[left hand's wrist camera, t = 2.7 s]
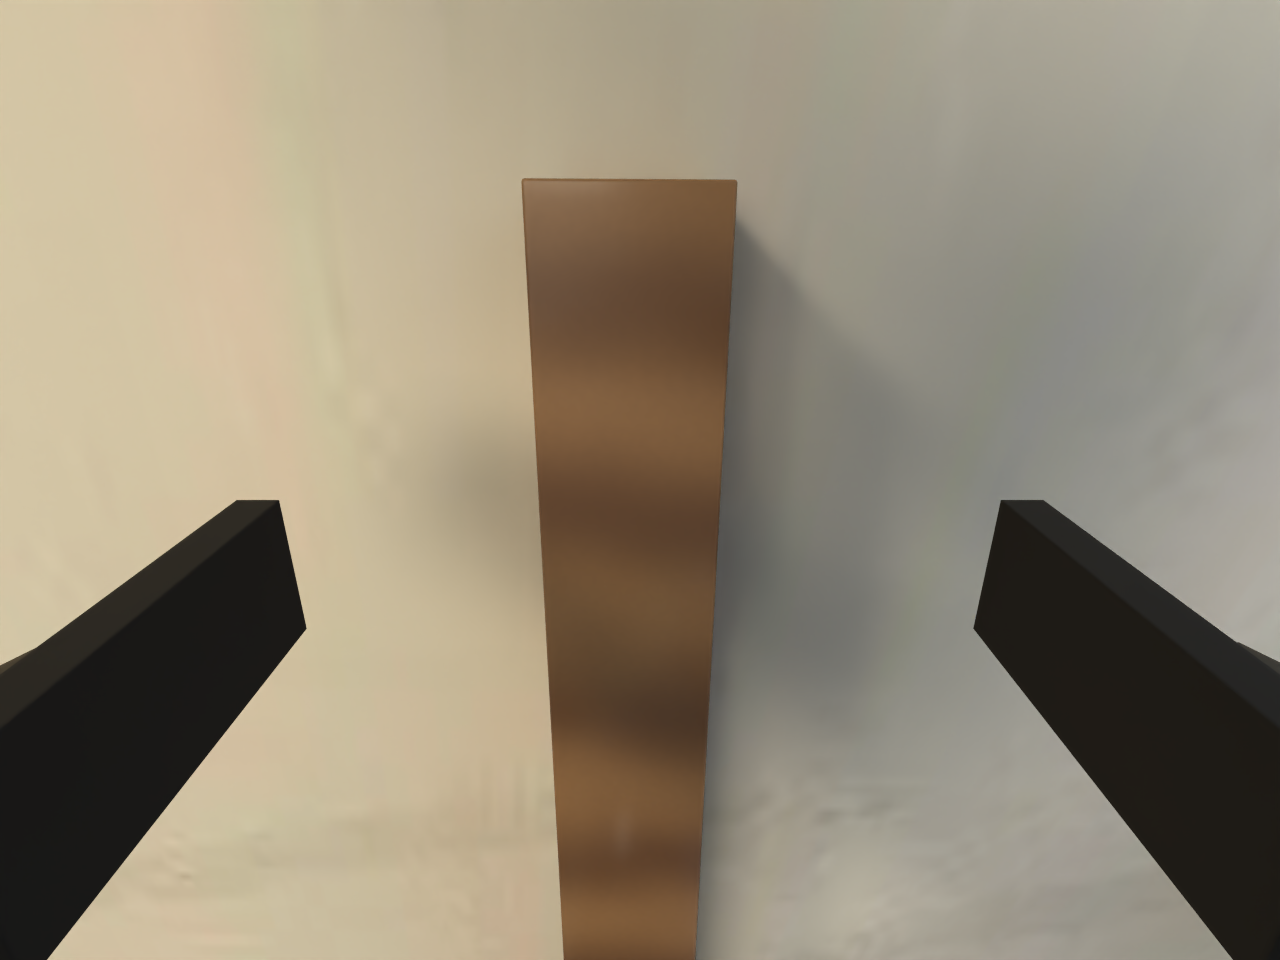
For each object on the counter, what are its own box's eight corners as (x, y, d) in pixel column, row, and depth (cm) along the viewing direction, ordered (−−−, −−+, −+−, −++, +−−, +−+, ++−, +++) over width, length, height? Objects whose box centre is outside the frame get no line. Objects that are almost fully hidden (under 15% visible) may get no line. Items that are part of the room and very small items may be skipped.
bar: (559, 185, 22) (520, 178, 15) (707, 186, 22) (737, 179, 15) (592, 1119, 41) (582, 1304, 34) (670, 1120, 41) (676, 1305, 34)
